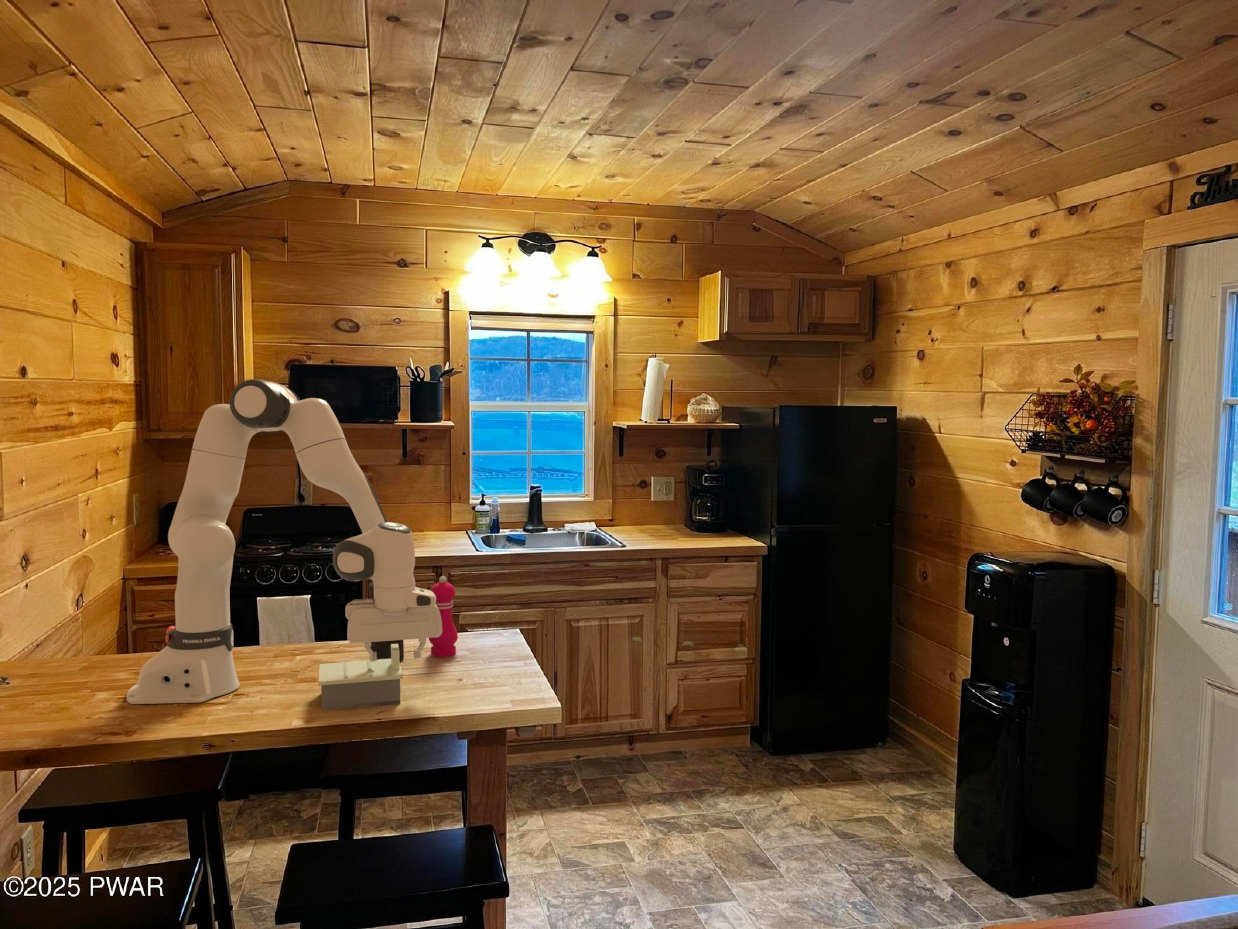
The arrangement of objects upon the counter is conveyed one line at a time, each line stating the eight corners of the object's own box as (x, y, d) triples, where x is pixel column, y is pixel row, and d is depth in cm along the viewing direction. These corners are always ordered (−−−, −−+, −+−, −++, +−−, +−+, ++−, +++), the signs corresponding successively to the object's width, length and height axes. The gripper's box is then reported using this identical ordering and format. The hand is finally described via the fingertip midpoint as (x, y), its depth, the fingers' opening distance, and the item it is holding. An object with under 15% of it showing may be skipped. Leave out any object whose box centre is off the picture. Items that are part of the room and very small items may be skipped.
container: (410, 655, 233) (409, 577, 231) (398, 666, 224) (397, 585, 222) (376, 654, 234) (375, 576, 232) (363, 665, 225) (362, 584, 223)
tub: (321, 710, 193) (321, 684, 193) (322, 692, 204) (322, 668, 204) (400, 703, 198) (400, 678, 197) (396, 686, 209) (396, 662, 209)
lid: (318, 690, 192) (318, 661, 191) (319, 672, 204) (319, 644, 204) (402, 683, 197) (402, 654, 196) (398, 665, 209) (398, 639, 209)
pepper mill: (435, 659, 230) (434, 580, 228) (424, 652, 236) (424, 575, 234) (462, 655, 234) (461, 577, 232) (451, 648, 240) (451, 572, 238)
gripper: (345, 603, 195) (346, 667, 197) (443, 597, 201) (443, 659, 203) (344, 596, 201) (345, 659, 203) (439, 591, 207) (440, 651, 209)
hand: (395, 659), depth 203 cm, fingers open, 8 cm apart
